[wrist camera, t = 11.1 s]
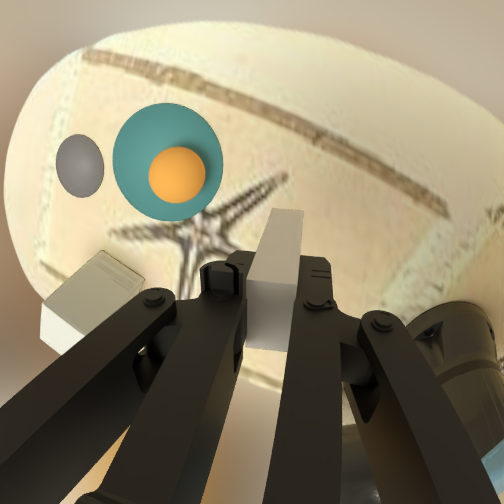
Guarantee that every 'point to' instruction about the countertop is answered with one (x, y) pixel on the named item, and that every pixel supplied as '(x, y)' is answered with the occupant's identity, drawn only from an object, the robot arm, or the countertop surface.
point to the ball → (176, 174)
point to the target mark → (155, 141)
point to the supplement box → (86, 301)
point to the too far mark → (79, 166)
